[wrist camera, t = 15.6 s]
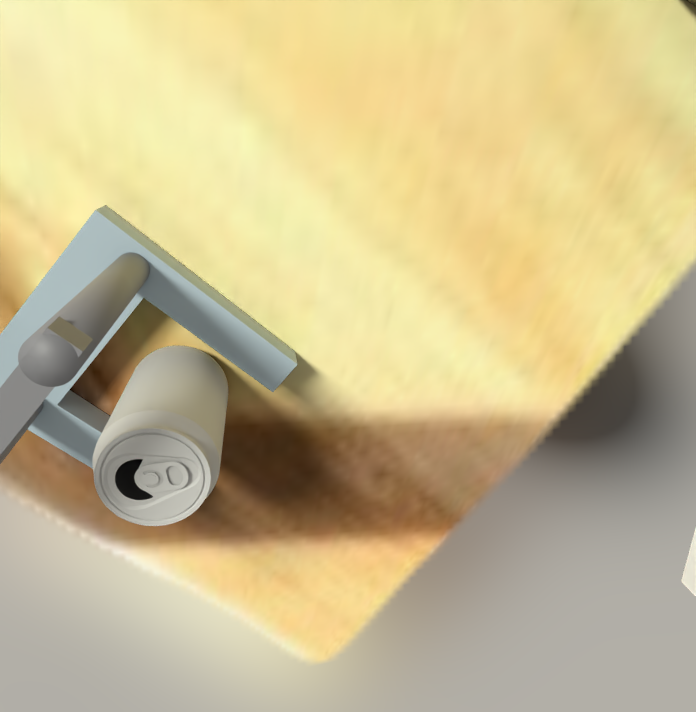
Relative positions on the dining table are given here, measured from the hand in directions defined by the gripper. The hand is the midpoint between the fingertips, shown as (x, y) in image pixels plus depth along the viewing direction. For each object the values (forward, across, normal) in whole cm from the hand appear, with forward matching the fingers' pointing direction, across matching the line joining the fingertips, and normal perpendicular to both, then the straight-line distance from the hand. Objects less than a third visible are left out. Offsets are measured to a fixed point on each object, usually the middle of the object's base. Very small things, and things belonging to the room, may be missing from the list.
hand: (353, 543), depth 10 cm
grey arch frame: (+31, -9, -8) cm, 33 cm away
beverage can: (+31, -7, -10) cm, 33 cm away
